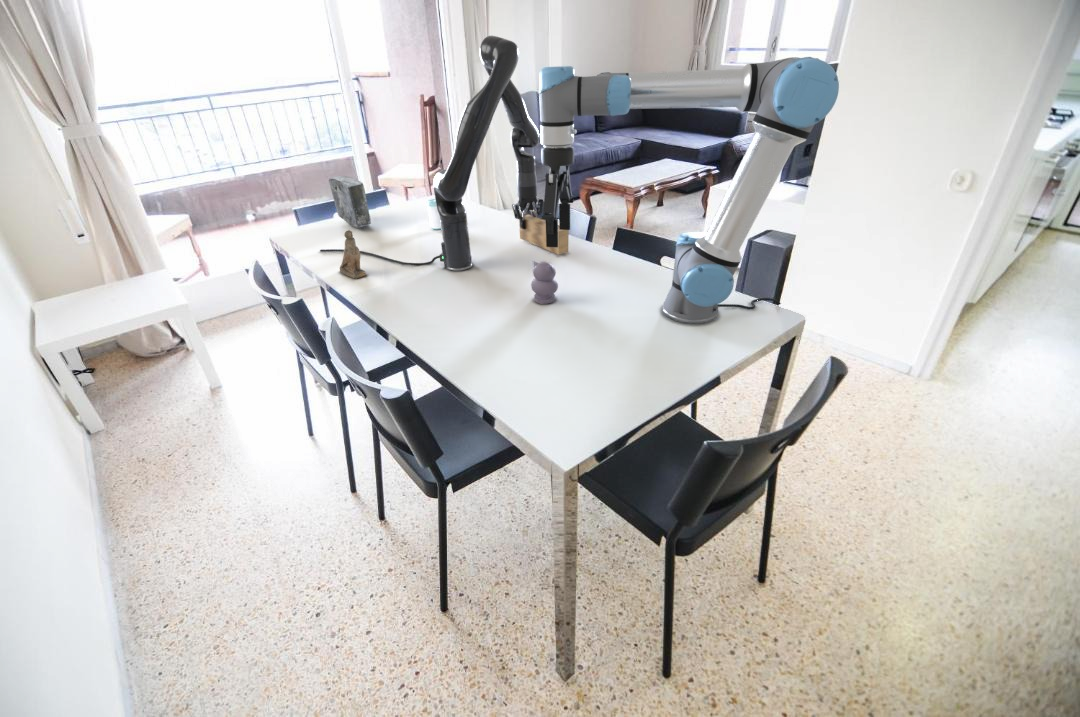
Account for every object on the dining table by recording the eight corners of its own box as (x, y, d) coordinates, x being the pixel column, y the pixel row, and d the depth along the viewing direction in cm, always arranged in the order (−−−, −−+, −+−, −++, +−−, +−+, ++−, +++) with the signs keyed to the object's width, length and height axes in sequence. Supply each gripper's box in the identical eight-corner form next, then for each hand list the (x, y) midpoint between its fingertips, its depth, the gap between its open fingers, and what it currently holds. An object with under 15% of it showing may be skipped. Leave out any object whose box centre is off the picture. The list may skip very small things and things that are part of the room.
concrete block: (376, 229, 224) (366, 183, 213) (356, 233, 219) (346, 186, 209) (356, 217, 242) (347, 174, 232) (338, 220, 238) (327, 177, 228)
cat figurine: (563, 298, 154) (563, 262, 147) (546, 307, 149) (545, 269, 143) (543, 291, 159) (542, 255, 152) (526, 299, 154) (524, 263, 148)
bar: (519, 238, 202) (519, 216, 198) (529, 236, 205) (528, 214, 200) (558, 254, 186) (558, 231, 181) (568, 252, 188) (568, 228, 184)
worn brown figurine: (368, 281, 178) (362, 235, 166) (353, 285, 175) (347, 238, 163) (352, 266, 184) (346, 221, 172) (338, 270, 181) (331, 224, 169)
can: (445, 229, 220) (441, 202, 214) (429, 230, 220) (425, 202, 214) (447, 224, 226) (444, 198, 220) (432, 225, 226) (428, 198, 220)
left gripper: (535, 179, 196) (537, 222, 205) (506, 185, 189) (508, 229, 198) (547, 182, 191) (548, 225, 200) (517, 188, 184) (519, 233, 193)
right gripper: (561, 155, 101) (562, 255, 112) (584, 137, 121) (583, 223, 132) (526, 155, 103) (530, 253, 114) (554, 137, 123) (555, 222, 134)
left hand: (528, 227), depth 199 cm, fingers open, 5 cm apart
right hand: (558, 237), depth 123 cm, fingers open, 13 cm apart
